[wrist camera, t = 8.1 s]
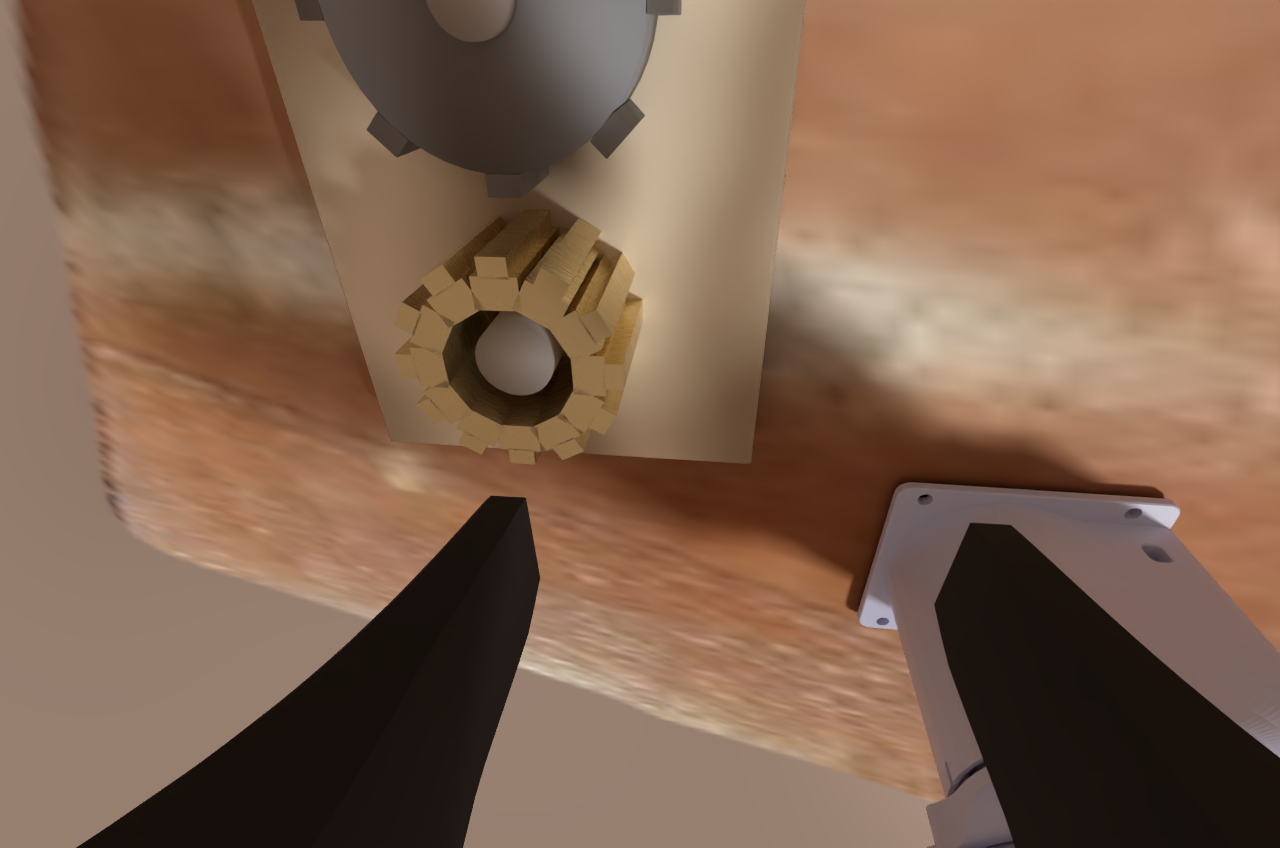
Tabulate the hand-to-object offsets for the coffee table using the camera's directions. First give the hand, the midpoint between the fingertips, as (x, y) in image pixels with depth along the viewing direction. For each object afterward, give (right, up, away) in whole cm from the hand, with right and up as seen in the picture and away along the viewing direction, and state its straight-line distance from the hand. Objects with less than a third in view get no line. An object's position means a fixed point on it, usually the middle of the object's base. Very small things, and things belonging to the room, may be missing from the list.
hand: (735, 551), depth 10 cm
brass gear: (-4, +6, +8) cm, 10 cm away
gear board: (-4, +9, +7) cm, 12 cm away
